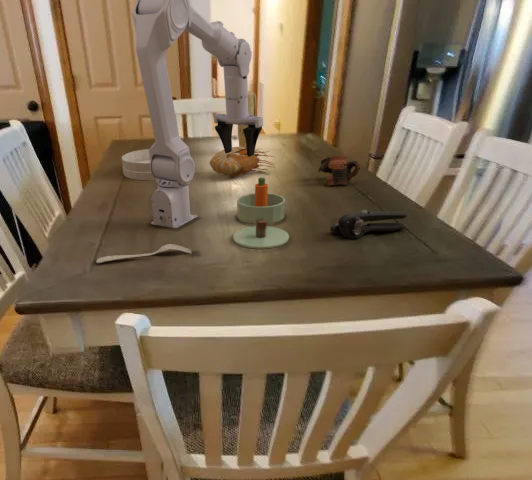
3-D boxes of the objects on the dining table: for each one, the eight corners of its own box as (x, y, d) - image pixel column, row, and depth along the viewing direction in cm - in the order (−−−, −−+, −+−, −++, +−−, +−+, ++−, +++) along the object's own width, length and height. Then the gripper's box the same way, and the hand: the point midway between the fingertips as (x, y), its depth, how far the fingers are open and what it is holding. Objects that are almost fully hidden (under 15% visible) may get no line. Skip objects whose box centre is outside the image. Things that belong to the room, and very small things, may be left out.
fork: (100, 269, 100) (96, 257, 98) (195, 251, 100) (192, 238, 98) (99, 275, 97) (95, 263, 96) (196, 256, 98) (194, 243, 96)
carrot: (263, 218, 114) (264, 180, 108) (252, 217, 115) (253, 179, 109) (268, 215, 116) (270, 177, 110) (258, 213, 117) (259, 176, 111)
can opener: (341, 245, 100) (345, 219, 96) (326, 234, 105) (329, 209, 102) (413, 233, 103) (419, 208, 100) (395, 223, 109) (400, 199, 105)
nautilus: (273, 169, 155) (277, 183, 143) (209, 167, 155) (208, 182, 143) (276, 143, 150) (281, 156, 138) (209, 141, 149) (209, 154, 138)
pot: (271, 228, 109) (272, 210, 106) (228, 221, 114) (228, 203, 112) (291, 214, 117) (293, 196, 114) (251, 207, 122) (251, 190, 119)
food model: (236, 150, 177) (236, 89, 165) (253, 149, 178) (254, 88, 165) (239, 156, 169) (239, 92, 157) (257, 155, 170) (258, 91, 158)
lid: (273, 255, 97) (274, 234, 94) (222, 245, 102) (222, 225, 99) (297, 236, 105) (299, 216, 102) (249, 227, 110) (249, 208, 108)
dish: (112, 179, 150) (109, 162, 147) (137, 162, 167) (135, 147, 164) (177, 181, 145) (176, 164, 142) (196, 164, 162) (195, 148, 159)
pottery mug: (316, 188, 136) (314, 158, 135) (323, 194, 144) (321, 167, 143) (358, 179, 130) (357, 148, 129) (363, 186, 139) (362, 158, 138)
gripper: (269, 94, 115) (269, 152, 124) (224, 92, 123) (227, 146, 132) (252, 101, 112) (254, 160, 120) (207, 98, 119) (211, 154, 128)
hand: (239, 154), depth 126 cm, fingers open, 7 cm apart
